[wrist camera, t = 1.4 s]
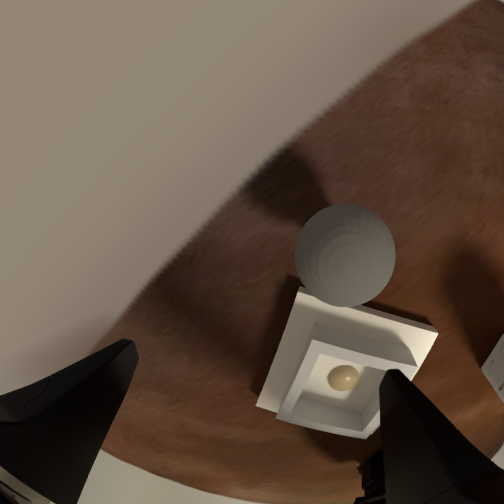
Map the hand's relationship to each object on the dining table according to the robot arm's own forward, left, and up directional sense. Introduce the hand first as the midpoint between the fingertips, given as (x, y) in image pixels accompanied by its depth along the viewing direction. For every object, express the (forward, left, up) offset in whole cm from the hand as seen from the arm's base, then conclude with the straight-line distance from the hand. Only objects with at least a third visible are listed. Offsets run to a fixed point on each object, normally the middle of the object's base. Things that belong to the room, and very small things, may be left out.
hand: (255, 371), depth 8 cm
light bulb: (-3, -3, -16) cm, 16 cm away
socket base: (-7, +9, -16) cm, 19 cm away
